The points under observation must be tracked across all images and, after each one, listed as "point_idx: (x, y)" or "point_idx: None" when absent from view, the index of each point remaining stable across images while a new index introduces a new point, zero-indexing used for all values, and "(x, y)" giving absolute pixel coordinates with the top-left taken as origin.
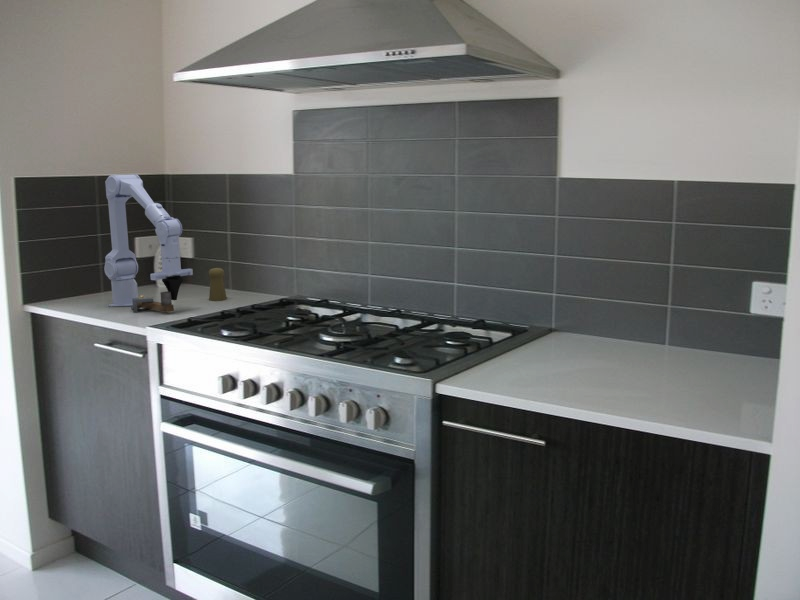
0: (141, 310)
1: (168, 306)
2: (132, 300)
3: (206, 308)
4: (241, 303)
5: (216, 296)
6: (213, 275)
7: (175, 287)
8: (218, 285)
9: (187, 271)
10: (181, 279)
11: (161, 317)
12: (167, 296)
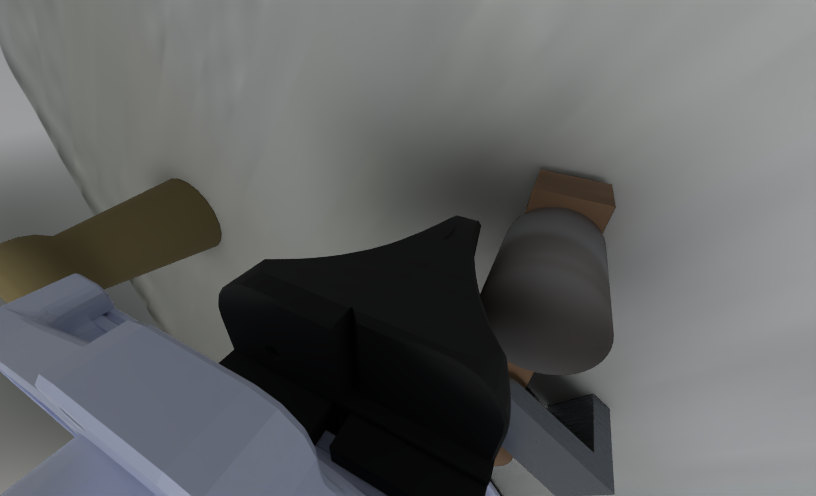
0: (530, 392)
1: (595, 198)
2: (613, 489)
3: (302, 89)
4: (123, 17)
5: (182, 206)
6: (62, 271)
7: (430, 271)
8: (114, 223)
9: (36, 340)
10: (272, 274)
11: (781, 133)
12: (581, 261)
